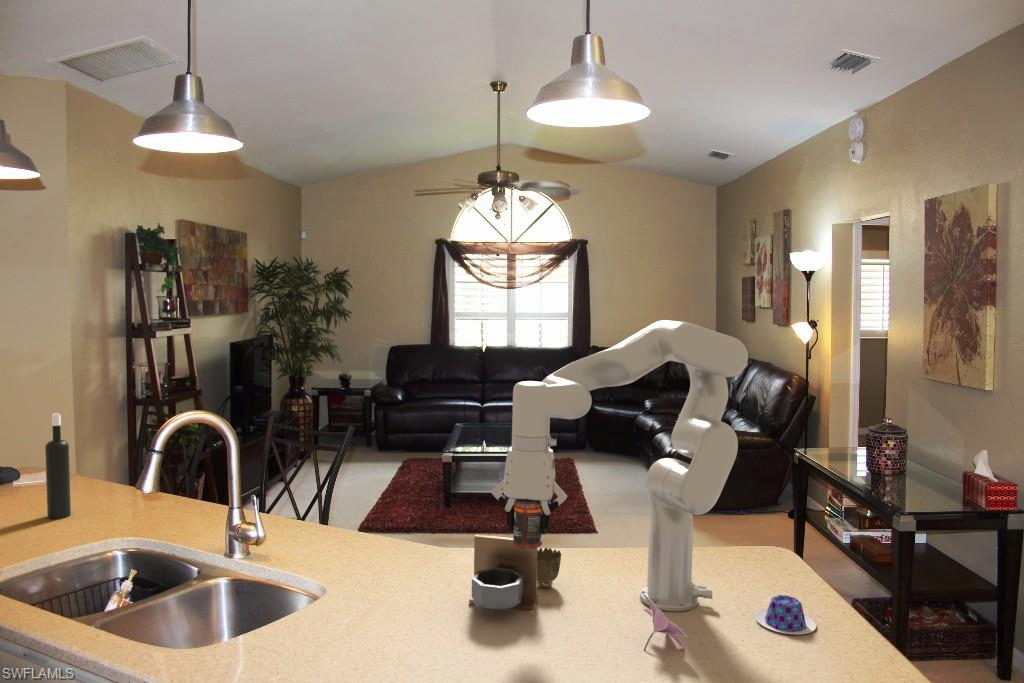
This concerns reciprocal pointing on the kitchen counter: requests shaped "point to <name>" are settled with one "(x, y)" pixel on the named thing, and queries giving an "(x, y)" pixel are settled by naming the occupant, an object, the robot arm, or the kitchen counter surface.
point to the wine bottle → (57, 473)
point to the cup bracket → (503, 575)
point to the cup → (547, 567)
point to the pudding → (785, 616)
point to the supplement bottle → (527, 524)
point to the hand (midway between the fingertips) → (527, 529)
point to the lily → (663, 623)
